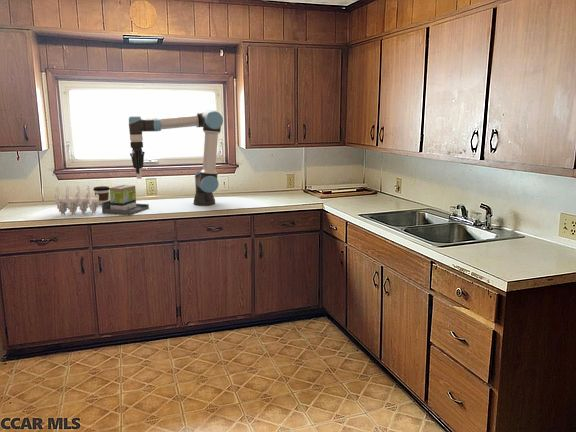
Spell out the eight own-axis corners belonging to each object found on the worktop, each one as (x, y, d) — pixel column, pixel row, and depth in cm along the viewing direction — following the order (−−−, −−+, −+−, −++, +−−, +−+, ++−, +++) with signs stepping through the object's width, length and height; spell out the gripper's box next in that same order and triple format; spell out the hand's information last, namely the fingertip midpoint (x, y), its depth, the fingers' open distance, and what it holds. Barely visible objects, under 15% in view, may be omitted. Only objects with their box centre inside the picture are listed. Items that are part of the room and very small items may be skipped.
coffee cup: (105, 206, 327) (104, 188, 324) (91, 205, 329) (89, 188, 327) (114, 203, 337) (112, 186, 335) (100, 202, 340) (98, 185, 337)
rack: (148, 208, 319) (148, 198, 318) (129, 215, 299) (129, 204, 297) (122, 206, 325) (122, 196, 323) (102, 213, 304) (101, 202, 302)
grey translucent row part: (97, 220, 302) (55, 220, 297) (101, 204, 316) (60, 203, 310) (94, 197, 291) (50, 196, 286) (98, 181, 305) (56, 180, 299)
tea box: (124, 211, 303) (122, 188, 300) (110, 210, 305) (108, 187, 302) (136, 206, 317) (135, 184, 314) (123, 206, 320) (121, 184, 316)
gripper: (137, 140, 306) (139, 176, 311) (125, 141, 294) (128, 179, 299) (147, 140, 304) (150, 177, 309) (135, 142, 292) (138, 180, 297)
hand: (139, 178), depth 304 cm, fingers closed
